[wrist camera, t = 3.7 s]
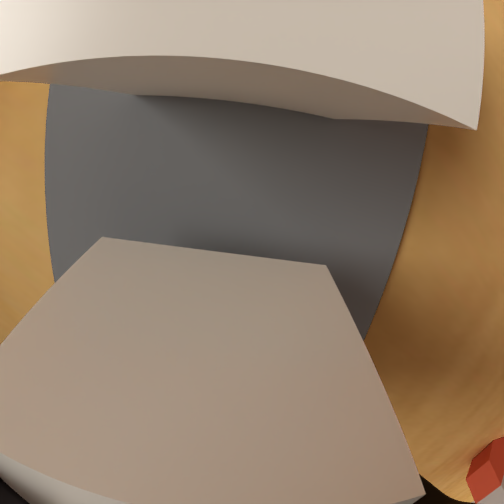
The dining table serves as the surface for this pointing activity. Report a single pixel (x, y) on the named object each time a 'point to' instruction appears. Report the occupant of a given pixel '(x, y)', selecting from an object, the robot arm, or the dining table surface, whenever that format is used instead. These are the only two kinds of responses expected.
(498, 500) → the french fries container
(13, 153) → the dining table surface
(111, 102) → the mat
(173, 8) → the closed white box
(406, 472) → the white cube
